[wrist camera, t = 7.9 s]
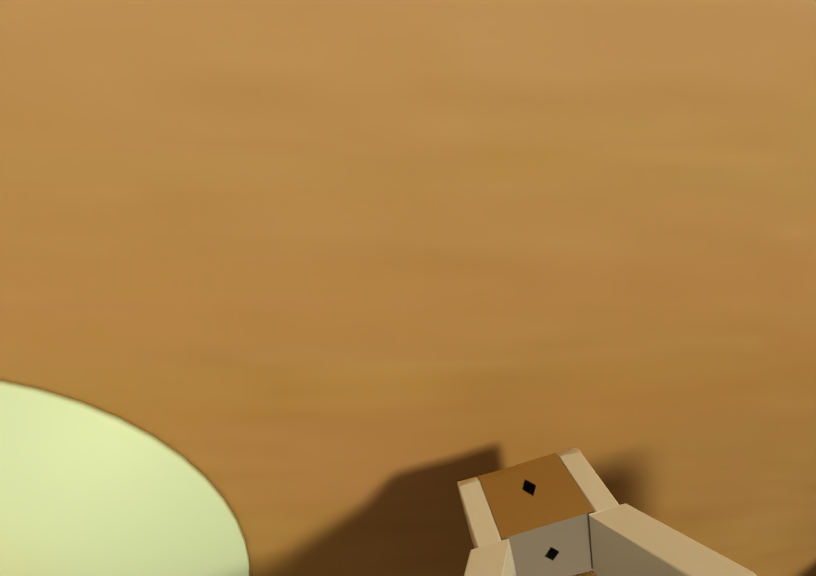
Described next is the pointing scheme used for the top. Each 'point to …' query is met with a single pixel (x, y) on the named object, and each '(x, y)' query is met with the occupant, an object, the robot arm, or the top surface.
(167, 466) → the pale green disc
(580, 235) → the top surface
